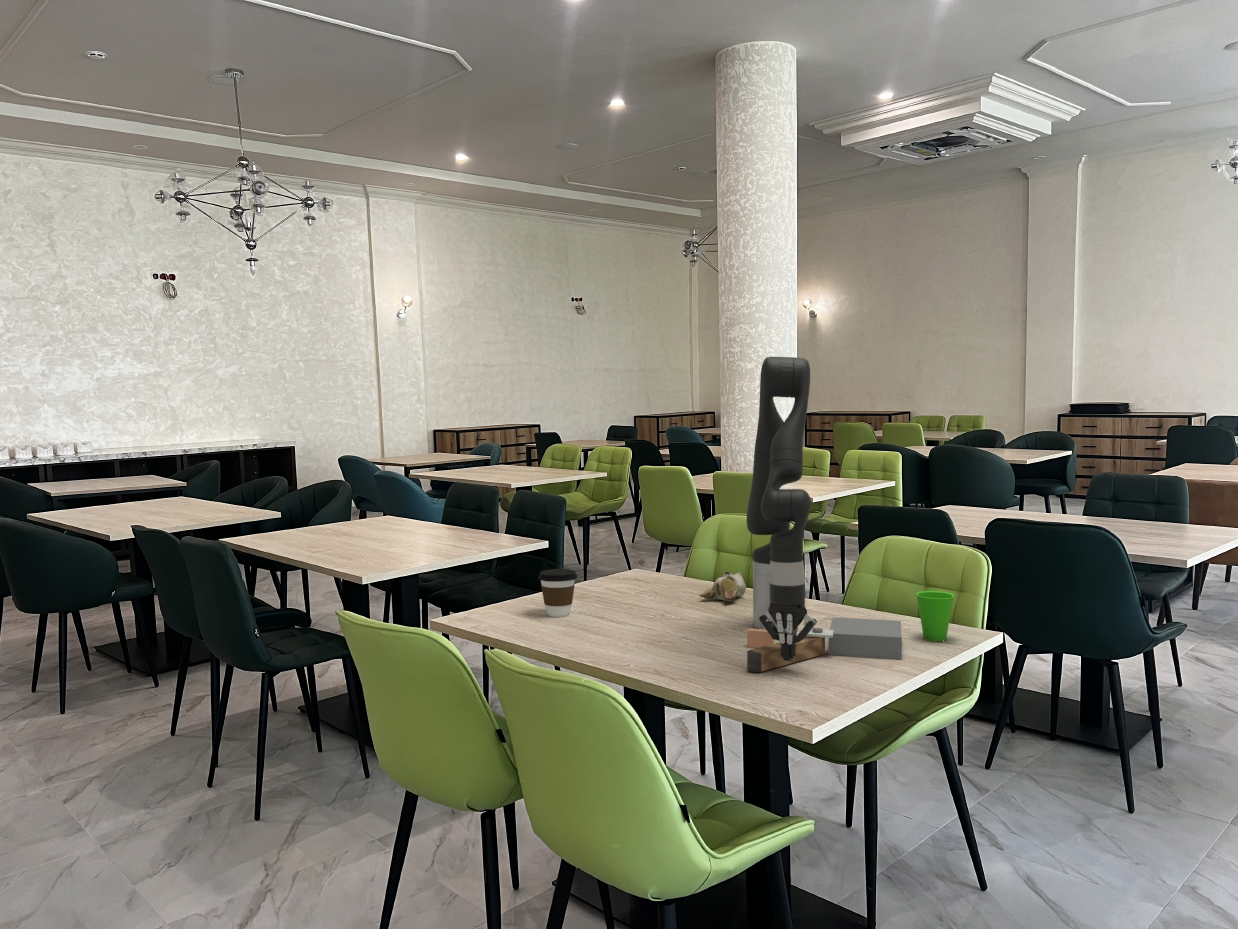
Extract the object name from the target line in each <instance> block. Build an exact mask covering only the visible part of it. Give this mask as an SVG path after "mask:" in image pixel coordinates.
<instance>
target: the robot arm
mask: <svg viewBox="0 0 1238 929" xmlns="http://www.w3.org/2000/svg"><path fill="white" fill-rule="evenodd" d="M759 380H760V381H759V382H760V383H759V402H758V403H759V405H758V406H759V407H758V408H759V409H758V420H757V421H758V422H757V430H756V436H755V442H754V443H755V445H754V451H753V452H754V453H753V454H754V455H753V469H752V479H751V488H750V493H749V498H748V504H747V511H746V527H747V530H748V532H749V533H750V534H751V535H755V536H756V535H757V536H770V538H769V542H768V543H767V544H764V545H762V546H759V547H757V548H755V549H753V552H752V606H753V607H752V626H753V627H754V629H765V630H767V631H768V633H769V634H770V636H771V637H772V639H774V641H778V643H779V642H780V643H781V656H782V658H783V660H785V661H791V660H793V658H795V656H796V643H798V642H800V641H802V640H803V639H804V638H805V637H806V636H807V634H808V633H809V632H810V631H811V630H812V629H813V628H815V626H816V624H817V623H818V621H817V619H816V618H812V617H811V616H810V615H809V614H808V610H807V609H806V582H805V581H806V580H805V578H806V577H805V576H806V575H805V574H806V573H805V565H804V537H805V530H806V527H807V523H808V519H809V515H810V513H811V508H812V498H811V496H810V494H809V493H808V492H807V491H806V490H805V489H801V488H783V489H782V487H783V486H785V485H789V484H792V483H795V482H798V481H800V480H801V479H802V476H803V473H804V472H803V468H804V467H803V464H804V463H803V461H804V460H803V454H804V452H803V451H804V449H803V448H804V434H805V428H806V422H807V414H808V406H809V405H808V404H809V397H810V396H809V395H810V386H811V367H810V362H809V360H808V359H806V358H804V357H794V356H791V357H790V356H768V357H766V358H765V359H764V360H763V362H762V365H761V369H760V379H759ZM774 398H788V399H789V398H790V399H791V398H793V399H794V402H793V405H792V406H793V407H792V409H791V410H790V413H789V414H788V416H787V417H786V419H785V420H784V419H783V418H782V416H781V415H780V414H779V413H780V412H779V411H778V410H777V407H776V404H775V401H774ZM792 522H793V526H792V527H790V526H791V523H792ZM802 622H803V623H802ZM801 623H802V625H803V628H802V629H801V630H800V631H799V632H798V628H799V626H800V625H801Z"/></svg>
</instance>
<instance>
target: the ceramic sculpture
mask: <svg viewBox="0 0 1238 929" xmlns="http://www.w3.org/2000/svg"><path fill="white" fill-rule="evenodd" d="M746 587H747V585H746V583H745V580H744V578H743V576H742V574H741V572H740V571H739V572H737V573H735V574H733V573H732V572H729V571H728V572H727V571H726V572H724V573H723V575H722V576H719V577H717V578H716V579H715V581H714V582H713V585H712V587H709V588H708V589H706V590H705V591H704V592H703V593H702V594H699V597H700V598H704V599H707V600H711V599H714V598H716V599H717V600H719V601H721V600H723V601H722V602H727V603H730V602H731V603H732V602H733V601H735V599H736V598H742V597H743V596H744V595H745V593H746V589H747V588H746Z"/></svg>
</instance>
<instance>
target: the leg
mask: <svg viewBox="0 0 1238 929" xmlns="http://www.w3.org/2000/svg"><path fill="white" fill-rule="evenodd" d="M825 654H826V638H823V637H807V636H806V637H805V638H804V639H803V640H802V641H800V642H798V643H796V656H795V658H793V660H791V661H785V660H783V658H782V656H781V643H780V642H779V641H778V642H774V644H771V645H767V646H763V647H759V648H751V649H748V650H746V662H747V663H746V665H747V666H746V670H747V671H748V672H752V673H761V672H765V671H768V670H771V669H775V668H776V669H777V668H780V667H783V666H786V665H789V664H791V665H792V664H794V663H797V662H802V661H804V660H807V659H808V660H809V659H813V658H815V657H818V656H824V655H825Z"/></svg>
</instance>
